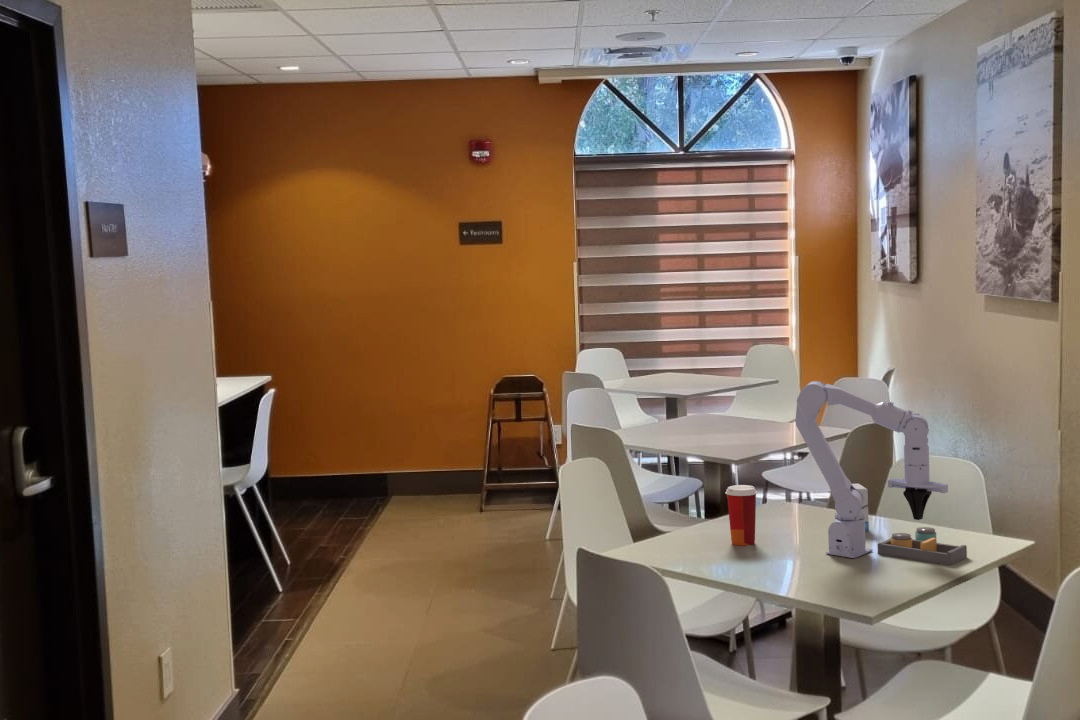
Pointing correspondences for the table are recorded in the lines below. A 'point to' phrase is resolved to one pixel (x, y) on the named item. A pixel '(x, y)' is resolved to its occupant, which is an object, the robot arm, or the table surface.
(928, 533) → the teal jar
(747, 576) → the table surface
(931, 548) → the plate
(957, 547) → the grey rectangular tray
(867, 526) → the ink box
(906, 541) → the amber jar
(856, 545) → the robot arm
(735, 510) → the coffee cup
